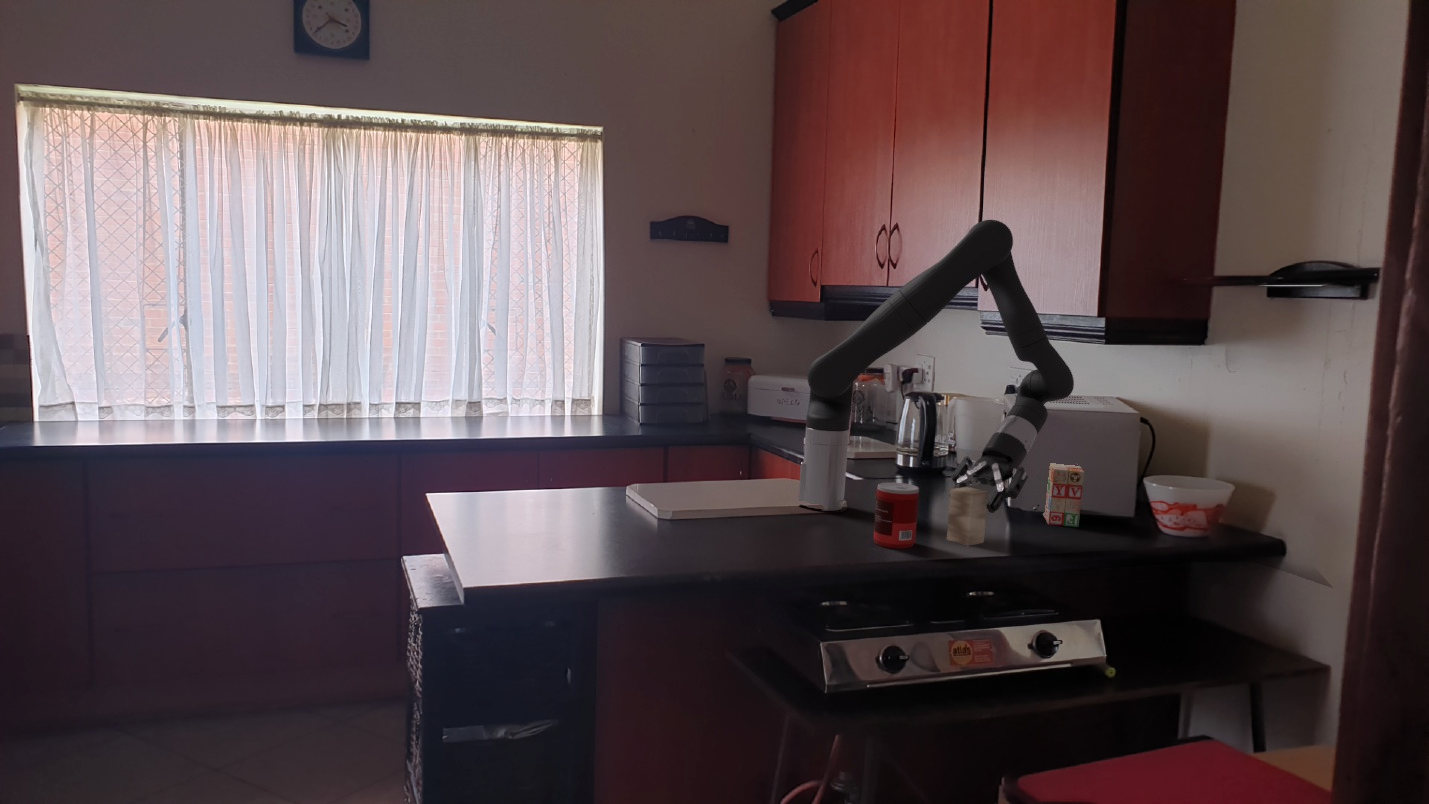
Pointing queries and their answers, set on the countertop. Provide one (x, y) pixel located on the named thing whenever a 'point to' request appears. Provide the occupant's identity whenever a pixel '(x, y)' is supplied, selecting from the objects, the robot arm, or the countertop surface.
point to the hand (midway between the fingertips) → (970, 505)
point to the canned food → (896, 515)
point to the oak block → (967, 515)
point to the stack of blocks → (1064, 495)
